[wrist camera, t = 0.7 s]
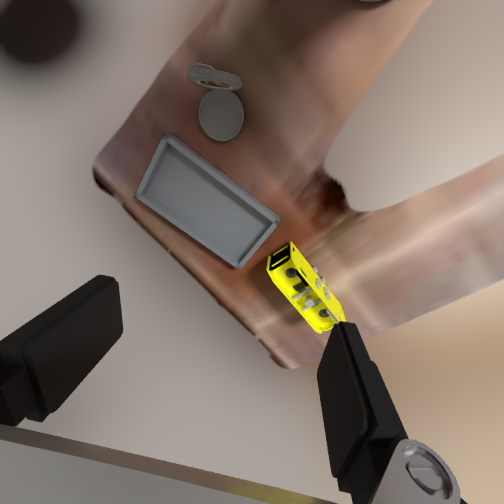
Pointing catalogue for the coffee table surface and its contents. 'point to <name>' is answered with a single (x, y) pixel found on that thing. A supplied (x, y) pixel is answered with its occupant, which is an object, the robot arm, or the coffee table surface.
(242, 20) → the coffee table surface
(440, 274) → the coffee table surface
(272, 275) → the yellow toy chassis
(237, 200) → the tray
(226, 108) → the pocket watch
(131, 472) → the robot arm
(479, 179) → the coffee table surface
